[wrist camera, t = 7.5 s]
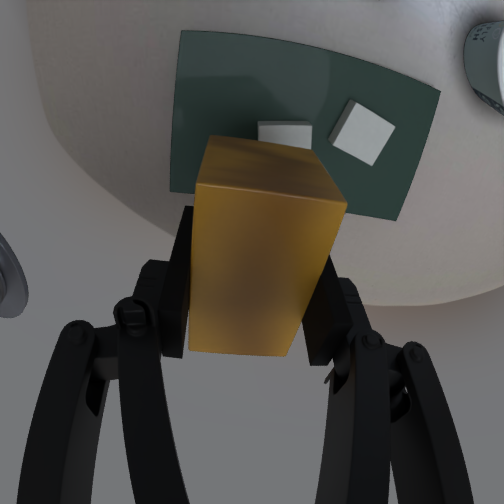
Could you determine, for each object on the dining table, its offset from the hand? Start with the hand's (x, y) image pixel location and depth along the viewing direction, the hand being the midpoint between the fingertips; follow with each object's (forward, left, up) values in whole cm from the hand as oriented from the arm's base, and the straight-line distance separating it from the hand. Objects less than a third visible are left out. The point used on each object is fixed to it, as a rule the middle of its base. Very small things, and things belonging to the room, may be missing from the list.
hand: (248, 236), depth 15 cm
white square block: (+9, +4, -11) cm, 15 cm away
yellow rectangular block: (0, 0, -1) cm, 1 cm away
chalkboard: (+5, +3, -12) cm, 14 cm away
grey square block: (+3, +2, -11) cm, 12 cm away
